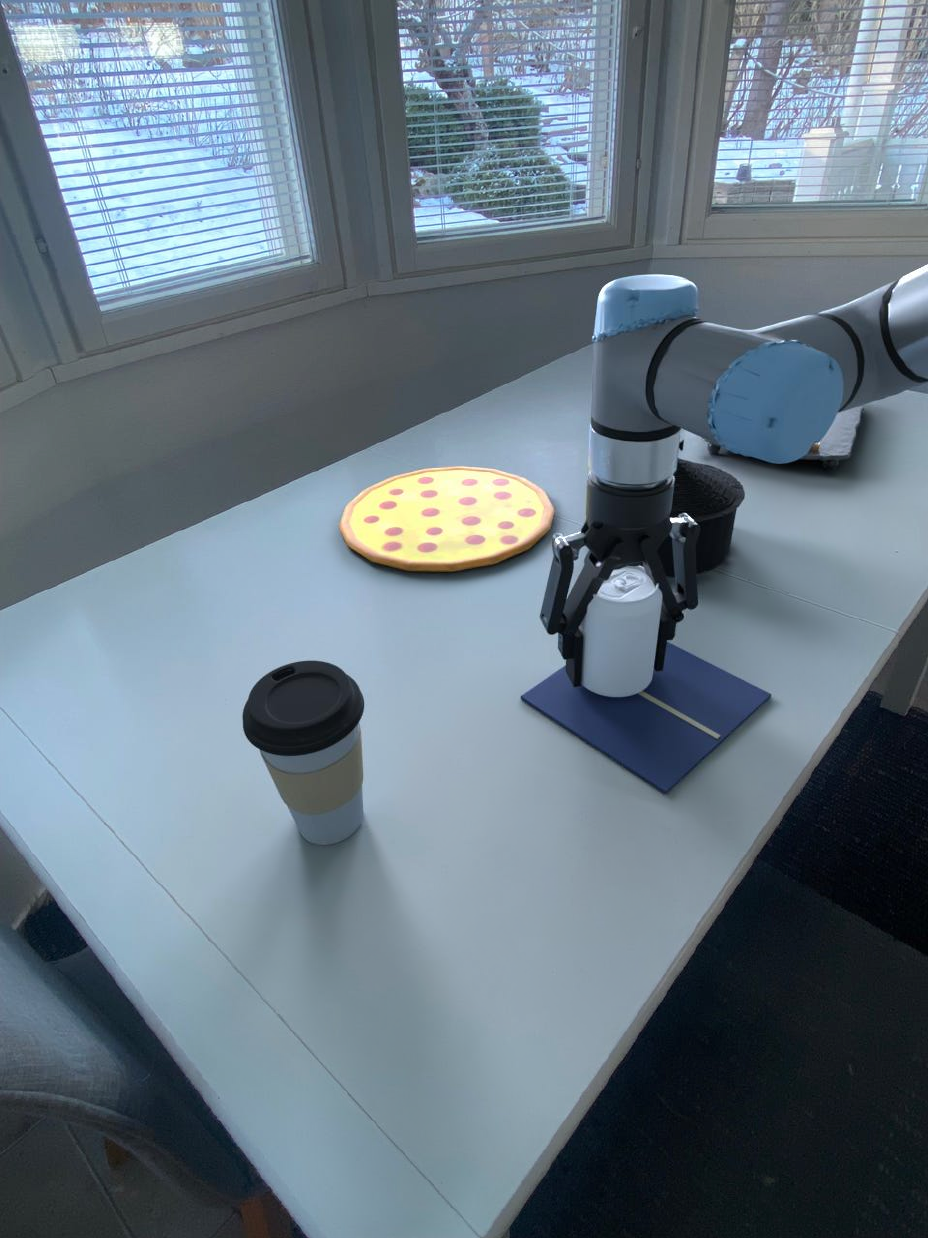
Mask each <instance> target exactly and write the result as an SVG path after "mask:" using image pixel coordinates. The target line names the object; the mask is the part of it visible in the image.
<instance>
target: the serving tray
mask: <svg viewBox="0 0 928 1238" xmlns="http://www.w3.org/2000/svg"><path fill="white" fill-rule="evenodd" d="M864 411H865V407H864V405H861V406H858V407H855V408H852V409H849V410H845V411H842V412H839V413H837V415H836V418H835V420H834V422H833V423H832V425H831V427H830V429H829V430H828V432H827V433H826V435H825V436H824V437H823V439H822V440H821V441H820V442H819V443H816V444H812V446H811V448H810V450H809V451H808V453H807V454H806V455H805V456H803V457H801V458H799V459H798V460H805V461H806V460H809V461H823V468H824V470H825V471H828V472H833V471H835V469H837V467H838V466H839V464H840V463H839V461H841V460H847V459H849V458H850V457H851V454H852V450H853V447H854V444H855V443H854V442H855V440H856V438H857V429H858V427H859V426H860V424H861V421H862V420H861V419H862V414H863V412H864ZM700 439H701V440H702V441H704V442H706V443H708V444H707V452H708V453H709V454H710V455H718V453H719V452H720V451H721V449H722V448H724V447H723V446H720V445H718V444H716V443H714V442H711V441H709V440H707V439H704V438H702V437H700Z"/></svg>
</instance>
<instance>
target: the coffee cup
mask: <svg viewBox="0 0 928 1238" xmlns="http://www.w3.org/2000/svg"><path fill="white" fill-rule="evenodd" d="M364 711H365V698H364V695H363V693H362V691H361V689H360V685H358V683H357V682H356V680H355V679H354V678H353V677H351V675H349V674H347V673H346V672H345V671H344V670H343V669H342V668H340V667H339V666H337V665H335V664H333V663H331V662H327V661H322V660H311V659H310V660H300V661H294V662H290V663H287V664H283V665H281V666H279V667H277V668H275V669H273V670H271V671H269V672H267V673H266V674H265V675H263V676H262V677H261V678H260V679H258V681H256V683H255V684H254V685H253V687H252V688H251V690H250V692H249V695H248V696H247V700H246V702H245V704H244V707H243V710H242V716H241V717H242V730H243V733H244V735H245V738H246V739H247V741H248V742H249V743H250V744H251V745H252V746H254V747H255V748H256V749H258V750H259V752H260V756H261V758H262V760H263V762H264V764H265V767H266V769H267V771H268V773H269V775H270V777H271V779H272V781H273V783H274V785H275V788H276V790H277V792H278V794H279V796H280V798H281V800H282V801H283V804H285V805H286V807H287V809H288V812H289V813H290V815H291V818H292V820H293V822H294V823H295V825H296V828H297V829H298V831H299V833H300V834H301V836H302V837H303V838H304V839H305V840H306V841H308V842H309V843H311V844H314V845H317V846H331V845H335V844H337V843H341V842H343V841H344V840H346V839H348V838H349V837H350V836H352V835H353V834H354V833H355V832H356V831H357V830H359V827H360V826H361V825H362V822H363V819H364V815H365V814H364V812H365V811H364V796H363V795H364V793H363V792H364V791H363V783H364V761H363V759H364V758H363V743H362V742H363V741H362V730H361V724H360V721H361V719H362V717H363V715H364Z"/></svg>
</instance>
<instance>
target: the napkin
mask: <svg viewBox="0 0 928 1238" xmlns="http://www.w3.org/2000/svg"><path fill="white" fill-rule="evenodd" d="M565 670H566V664H565V665H563V666H562V667H561V668H559V669H558V670H557V671H555V672H553V673H552V674H551V675H549V676H548V677H546V678H545V679H543V680H542V681H541V682H538V683H537V684H536V685H534V686H533V687H531V688H529V690H527V691H526V692H524V693H523V694H521V695H520V700H522V701H523V702H524V703H526V704H528V705H529V706H531V707H532V708H534V709H535V710H536V711H538V712H540V713H541V714H542V715H544V716H545V717H547V718H548V719H550V720H552V721H553V722H555V723H557V724H558V725H560V726H561V727H563V728H564V729H565V730H567V731H568V732H570V733H572V734H573V735H575V736H576V737H578V738H579V739H581V740H582V741H584V742H585V743H587V744H588V745H590V746H592V747H593V748H594V749H596V750H598V751H599V752H601V753H602V754H603V755H605V756H606V757H608V758H610V759H611V760H612V761H614V762H615V763H617V764H618V765H620V766H621V767H623V768H625V769H626V770H628V771H629V772H631V773H633V774H634V775H635V776H637V777H638V778H640V779H641V780H643V781H644V782H646V783H647V784H649V785H650V786H652V787H653V788H655V789H656V790H658V791H659V792H661V793H662V794H664V795H667V794H668V793H669V792H670V791H672V789H673V788H674V787H676V785H678V784H679V783H680V782H681V781H682V780H683V779H684V778H685V777H686V776H687V775H689V773H691V772H692V771H693V770H694V769H695V768H696V767H697V766H698V765H699V764H700V763H701V762H702V761H703V760H705V759H706V758H707V757H708V756H709V755H710V754H712V752H713V751H715V750H716V749H717V748H718V747H719V746H720V745H721V744H722V743H723V742H724V741H725V740H727V738H729V737H730V736H731V735H732V734H733V732H735V731H736V730H737V729H739V728H740V727H741V725H743V724H744V723H745V722H746V721H747V720H748V719H749V718H750V717H751V716H752V715H754V713H756V712H757V711H758V710H759V709H760V708H761V707H763V705H764V704H765V703H767V702H768V700H769V699H771V698H772V693H770V692H769V691H766V690H764V689H762V688H760V687H758V686H756V685H754V684H752V683H750V682H748V681H746V680H744V679H743V678H740V677H738V676H736V675H734V674H733V673H731V672H728V671H726V670H725V669H723V668H721V667H719V666H716V665H715V664H712V663H710V662H709V661H707V660H705V659H703V658H700V657H699V656H697V655H695V654H693V653H691V652H689V651H687V650H685V649H683V648H681V647H679V646H677V645H675V644H673V643H671V642H669V641H667V645H666V653H665V660H664V667H663V671H658V672H656V671H655V669H653V676H652V680H651V682H650V684H649V685H648V686H647V687H646V688H645V689H644V690H642V691H641V692H639V693H637V694H634V695H631V696H626V697H608V696H603V695H600V694H597V693H594V692H592V691H590V690H588V689H587V688H585V687H584V686H583V685H582V684H581V686H578V687H573V685H572V683H571V681H570V679H569V677H568V675H567V673H566V671H565Z"/></svg>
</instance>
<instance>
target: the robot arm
mask: <svg viewBox="0 0 928 1238" xmlns="http://www.w3.org/2000/svg"><path fill="white" fill-rule="evenodd" d="M697 287H698V286H697V285H695V284H694V282H693V281H690V280H689V279H688V278H685V277H681V276H677V275H671V274H669V275H668V274H637V275H631V276H625V277H620V278H617V279H614V280H612V281H609V282H608V283H607V284H605V285H604V286H603V287H602V289H601V290H600V292H599V294H598V298H597V304H596V311H595V312H596V313H595V320H594V329H593V335H592V337H591V343H593V344H592V369H591V395H590V421H589V422H590V423H589V439H588V459H587V466H588V469H589V472H588V474H587V477H586V497H585V520H584V523H583V525H582V526H581V528H580V530H579V532H576V533H573V534H570V535H565V536H564V535H563V534H562V533H561V532H556V533H554V534H553V535H552V536H551V538H550V542H551V548H552V553H553V555H552V560H551V565H550V570H549V574H548V578H547V583H546V587H545V591H544V596H543V600H542V605H541V609H540V613H539V619H540V621H541V623H542V625H543V627H544V630H545V631H546V633H547V634H548V635H550V636H553V635H556V634H557V650H558V651H559V654H560V655H561V658H562V659H563V660H564V661H565V665H566V670H565V671H566V673H567V675H568V677H569V679H570V681H571V683H572V685H573V687H578V686H581V673H582V654H583V634H582V633H581V631H580V629H579V626H580V624H581V622H582V620H583V619H584V617H585V615H586V613H587V607H588V605H589V603H590V602H591V601H592V599H593V598H594V597H593V594H596V595H597V593H598V591H599V589H600V587H601V586H602V584H603V582H604V581H607V580H608V579H609V577H610V575H611V574H612V572H613V570H617V569H621V568H624V567H626V566H641V565H643V567H644V569H645V571H646V573H647V575H648V576H649V577H650V578H651V580H652V581H653V582H654V584H655V585H657V583H659V587H658V588H659V589H660V590H661V592H662V606H661V613H660V621H659V629H658V637H657V645H656V653H655V661H654V669H655V671H656V672H658V671H663V667H664V660H665V653H666V645H667V642H669V641H673V639H674V637H675V636H676V632H677V631H676V630H677V624H678V623H681V622H682V621H683V620H684V618H685V613H684V612H683V611H685V610H689V611H692V610H695V609H696V608H697V607H698V606H699V591H698V590H699V588H698V587H699V586H698V574H697V569H696V552H695V545H696V542H697V539H698V536H699V533H700V526H699V525H698V524H697V523H696V522H695V521H694V520H693V519H692V518H691V517H690V516H689V515H688V514H687V513H682V514H680V515H679V516H678V517H677V518H670V517H669V514H670V512H671V508H672V500H673V492H674V484H675V478H674V475H673V474H674V473H675V471H676V470H677V461H678V458H679V451H680V449H679V443H680V442H681V434H682V430H684V431H686V432H689V433H691V434H694V436H695V435H696V436H698V437H700V438H704V439H707V440H709V441H711V442H714V443H716V444H718V445H720V446H723V447H722V448H723V449H725V450H727V451H730V452H731V453H732V454H736V455H737V454H739V455H742V456H743V457H752V458H755V459H758V460H761V461H764V462H767V463H770V464H777V465H780V464H789V463H792V462H795V461H797V460H800V459H799V458H801V457H803V456H805V455H806V454H807V453H808V451H809V450H810V448H811V446H812V444H816V443H819V442H820V441H821V440H822V439H823V437H824V436H825V435H826V433H827V432H828V430H829V429H830V427H831V425H832V423H833V422H834V420H835V418H836V415H837V413H839V412H842V411H845V410H849V409H852V408H855V407H858V406H861V405H863V406H864V405H867V404H870V403H873V402H876V401H881V400H884V399H886V398H890V397H893V396H896V395H899V394H901V393H904V392H906V391H907V390H910V389H912V388H916V387H919V386H922V385H925V384H928V264H926V265H924V266H922V267H921V268H918V269H916V270H914V271H912V272H910V273H908V274H906V275H904V276H902V277H901V278H899V279H897V280H894V281H892V282H890V283H888V284H884V285H883V286H881V287H879V288H877V289H875V290H873V291H871V292H869V293H867V294H865V295H862V296H861V297H858V298H857V299H854V300H852V301H850V302H848V303H845V304H842V305H839V306H836V307H833V308H830V309H827V310H823V311H820V312H816V313H815V312H814V313H810V314H807V315H804V316H799V317H797V318H796V317H795V318H793V319H788V320H785V321H782V322H778V323H777V322H776V323H775V324H770V325H767V326H762V327H760V328H759V327H758V328H756V329H740V328H735V327H730V326H725V325H721V324H717V323H713V322H711V321H707V320H704V319H702V318H698V317H697V314H699V310H700V308H699V305H698V297H699V291H698V288H697ZM669 534H670V536H671V537H672V546H673V558H674V570H675V577H674V581H675V592H676V593H674V591H673V589H672V586H671V584H670V581H669V579H668V577H666V574H665V572H664V570H663V565H662V562H661V560H660V557H659V555H658V553H657V549H658V547H659V546H660V545H661V544H662V542H663V541H664V540H665V539H666V538H667V536H668V535H669ZM583 547H586V548H587V549H588V551H587V553H586V555H585V557H584V560H583V566H582V569H581V571H580V573H579V575H577V578H576V580H575V581H574V584H573V586H572V588H571V590H570V592H569V589H570V586H571V582H572V578H573V575H574V569H575V561H577V560H579V555H580V550H581V549H582V548H583Z"/></svg>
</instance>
